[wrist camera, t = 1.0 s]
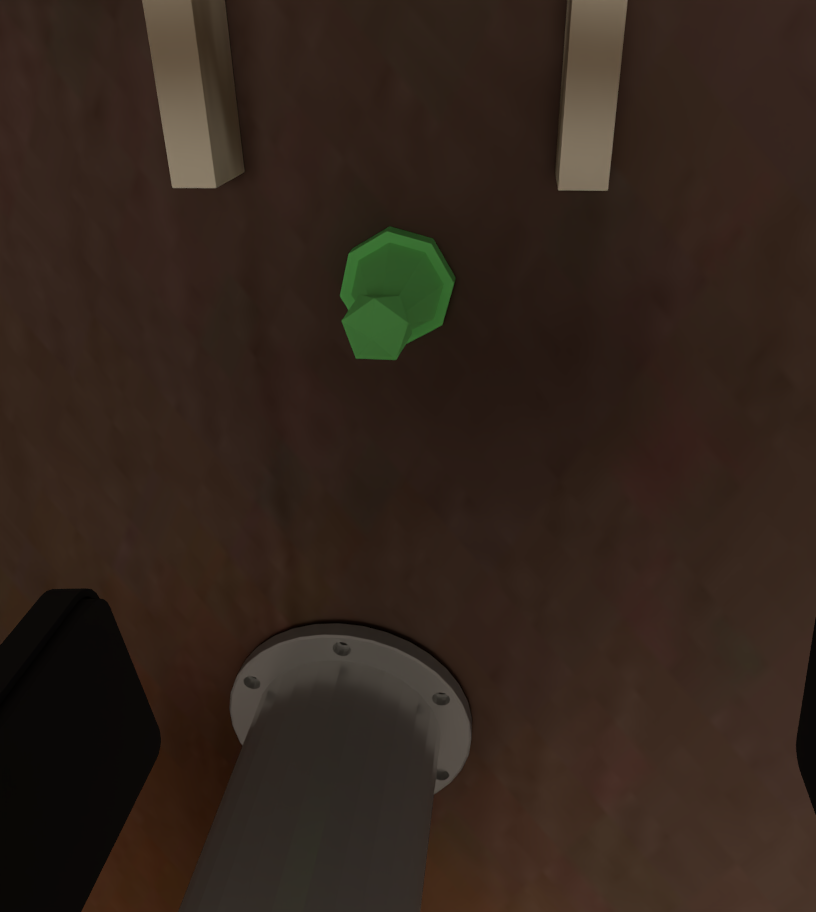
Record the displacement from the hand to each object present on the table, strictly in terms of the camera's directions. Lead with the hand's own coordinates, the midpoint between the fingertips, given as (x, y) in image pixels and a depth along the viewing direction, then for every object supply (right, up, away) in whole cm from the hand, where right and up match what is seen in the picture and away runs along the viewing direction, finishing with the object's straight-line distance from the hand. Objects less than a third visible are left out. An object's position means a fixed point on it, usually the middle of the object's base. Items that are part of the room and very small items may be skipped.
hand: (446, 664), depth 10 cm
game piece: (-1, +9, +19) cm, 21 cm away
